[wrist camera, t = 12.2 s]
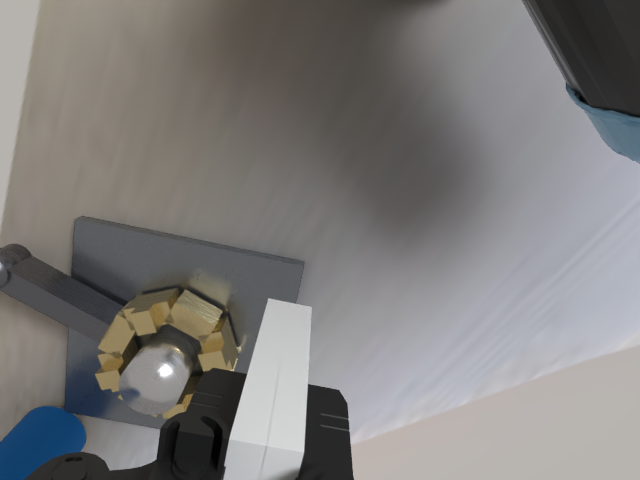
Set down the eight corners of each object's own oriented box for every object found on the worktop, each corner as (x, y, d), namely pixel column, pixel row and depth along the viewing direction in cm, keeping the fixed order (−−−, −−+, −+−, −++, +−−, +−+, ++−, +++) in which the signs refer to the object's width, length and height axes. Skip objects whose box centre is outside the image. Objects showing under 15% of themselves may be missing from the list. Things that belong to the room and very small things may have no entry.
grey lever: (257, 330, 41) (250, 354, 37) (199, 415, 43) (187, 445, 39) (25, 198, 37) (-9, 209, 33) (-21, 299, 40) (-58, 320, 36)
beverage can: (38, 390, 45) (-60, 490, 33) (99, 417, 46) (23, 523, 34) (18, 437, 46) (-82, 547, 35) (77, 462, 47) (-2, 577, 36)
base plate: (82, 215, 39) (22, 244, 31) (304, 261, 40) (299, 300, 33) (70, 403, 45) (17, 466, 37) (265, 439, 46) (253, 507, 38)
